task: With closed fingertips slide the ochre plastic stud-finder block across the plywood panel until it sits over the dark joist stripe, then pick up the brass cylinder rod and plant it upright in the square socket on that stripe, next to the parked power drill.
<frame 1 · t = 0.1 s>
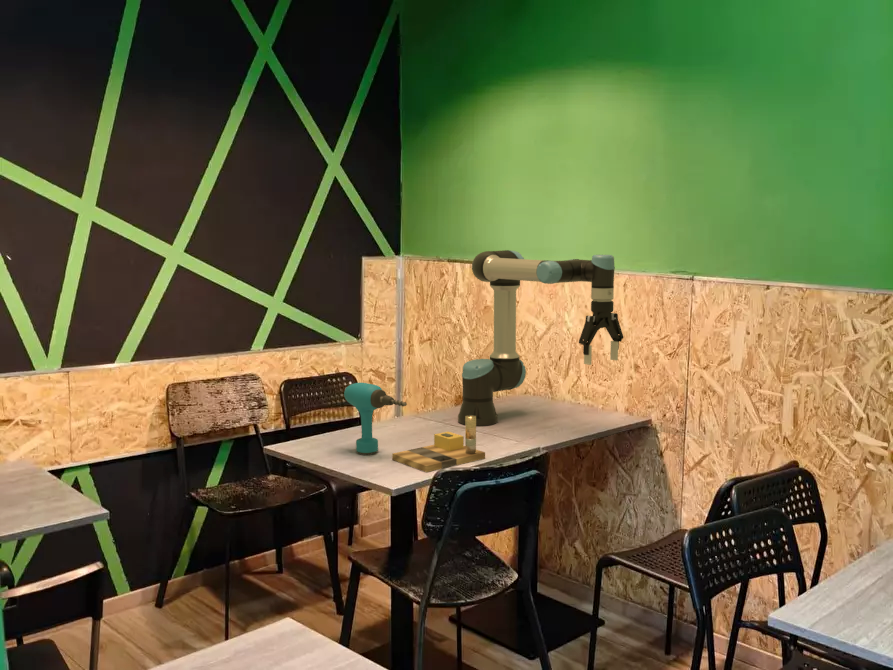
hand: (601, 362, 291), 28 cm above the table, fingers open, 13 cm apart
power drill: (376, 455, 279), on the table
subfloor panel: (438, 458, 274), on the table
brass cylinder rod: (470, 452, 274), point 2 cm above the table, touching subfloor panel
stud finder: (448, 447, 281), point 2 cm above the table, touching subfloor panel
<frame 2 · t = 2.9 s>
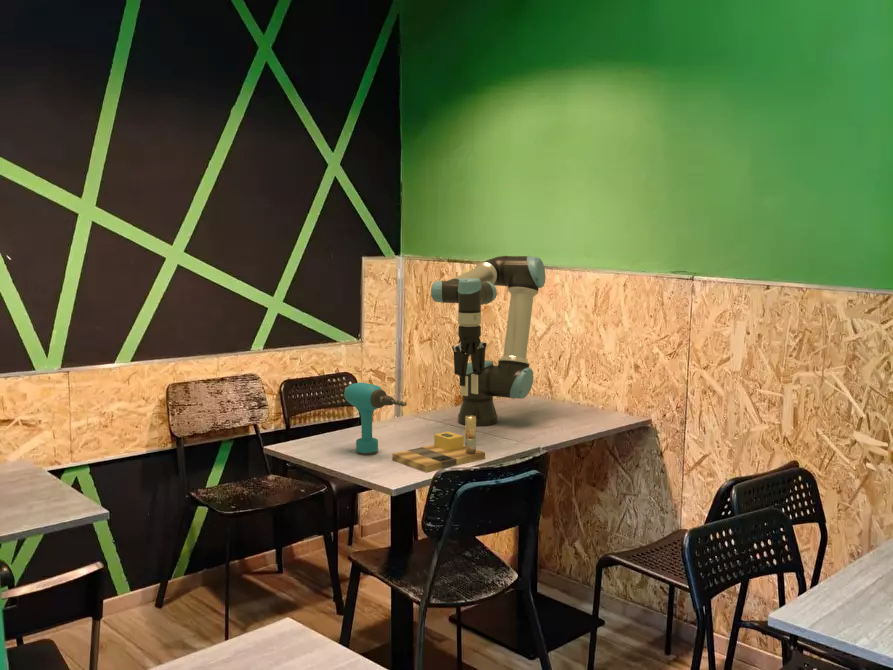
hand: (469, 394, 284), 19 cm above the table, fingers open, 4 cm apart
nothing on the table moved.
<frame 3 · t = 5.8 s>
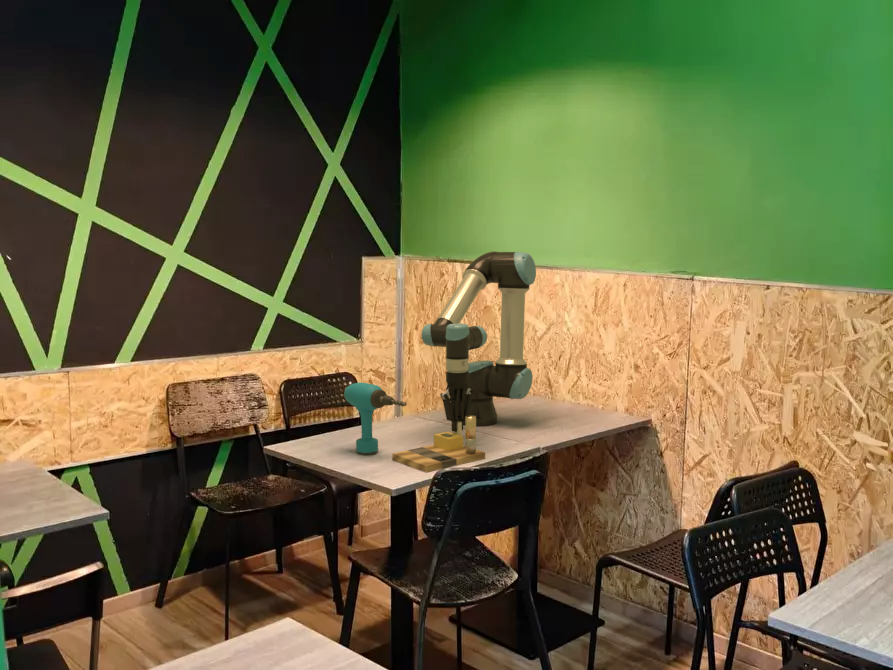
hand: (457, 440, 283), 4 cm above the table, fingers closed
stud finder: (448, 447, 281), point 2 cm above the table, touching gripper
everything else where it was.
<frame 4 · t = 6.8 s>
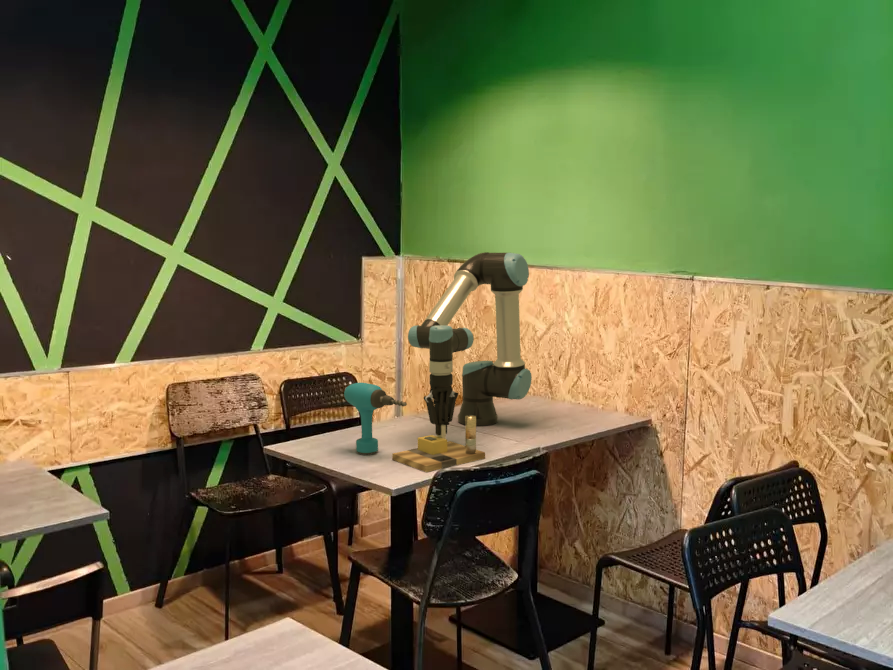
hand: (441, 444, 279), 4 cm above the table, fingers closed
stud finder: (432, 450, 277), point 2 cm above the table, touching gripper, subfloor panel
everything else where it was.
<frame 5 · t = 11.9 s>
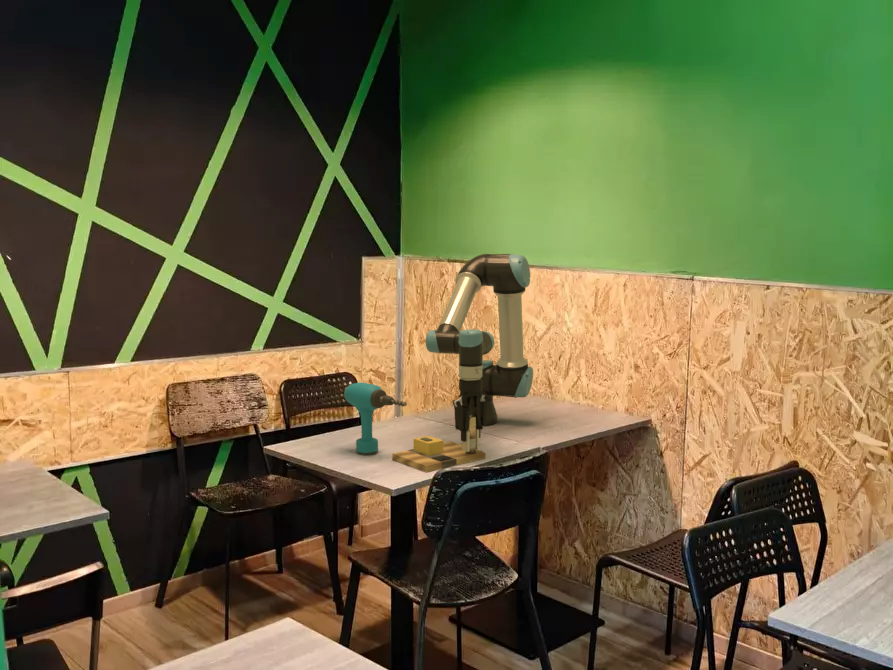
hand: (470, 449, 274), 3 cm above the table, fingers closed on brass cylinder rod, 3 cm apart
brass cylinder rod: (470, 452, 274), point 2 cm above the table, touching gripper, subfloor panel
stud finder: (428, 451, 276), point 2 cm above the table, touching subfloor panel
everything else where it was.
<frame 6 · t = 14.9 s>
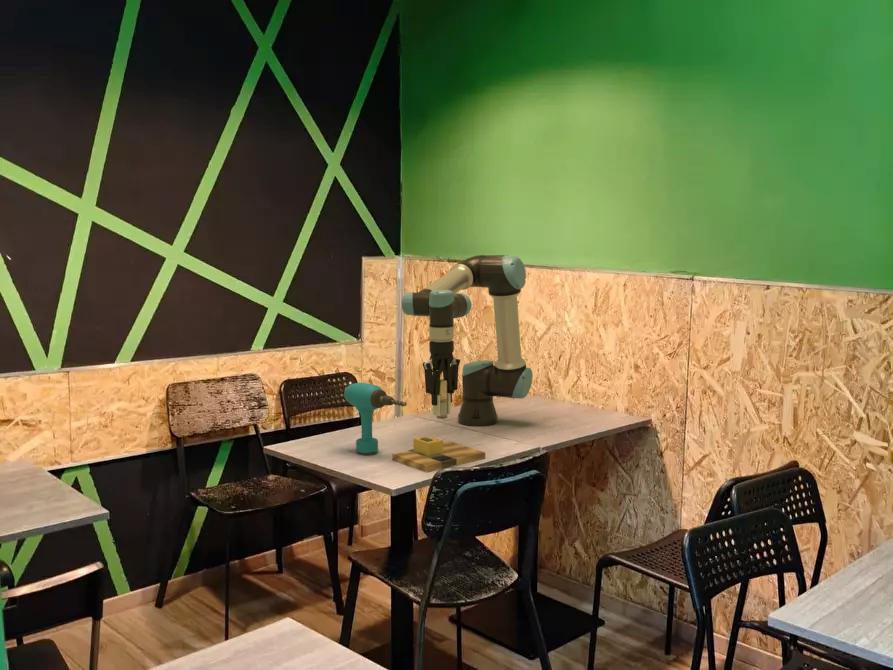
hand: (441, 414, 266), 16 cm above the table, fingers closed on brass cylinder rod, 3 cm apart
brass cylinder rod: (441, 417, 266), point 15 cm above the table, touching gripper
everything else where it was.
when the fingers open (3 cm above the table, at t = 17.9 s): brass cylinder rod drops 2 cm, resting in subfloor panel.
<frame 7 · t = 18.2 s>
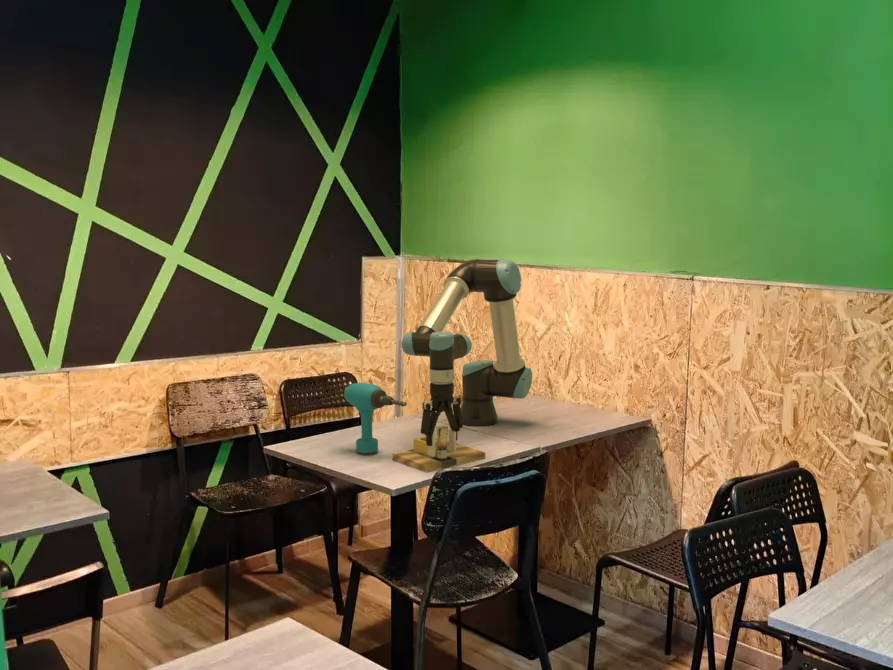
hand: (442, 453, 268), 4 cm above the table, fingers open, 8 cm apart
brass cylinder rod: (442, 464, 268), resting in subfloor panel
everything else where it was.
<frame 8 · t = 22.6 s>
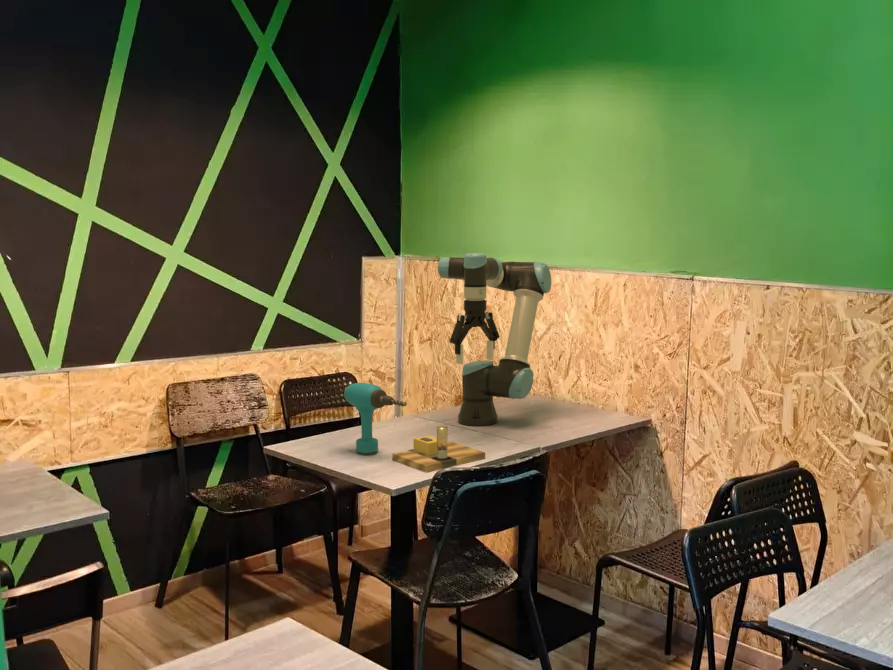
hand: (475, 361, 288), 29 cm above the table, fingers open, 13 cm apart
nothing on the table moved.
at the end: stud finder inside the target area (1.5 cm from its centre), point 2.0 cm above the table; brass cylinder rod 0.0 cm from the target spot, resting in subfloor panel; brass cylinder rod tilted 0° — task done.
